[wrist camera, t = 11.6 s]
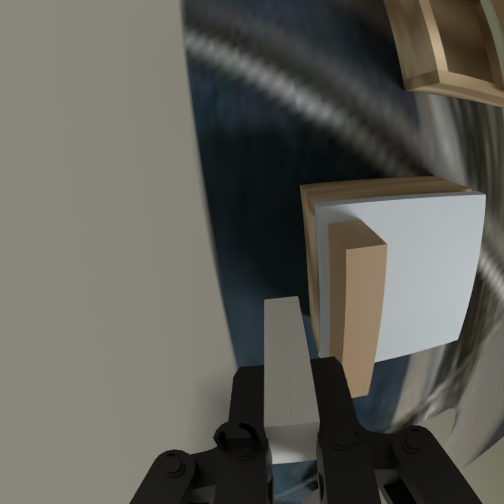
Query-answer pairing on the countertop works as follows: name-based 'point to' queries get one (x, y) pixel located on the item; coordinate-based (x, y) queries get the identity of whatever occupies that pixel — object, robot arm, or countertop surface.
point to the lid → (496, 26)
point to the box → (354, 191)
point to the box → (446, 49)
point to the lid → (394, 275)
